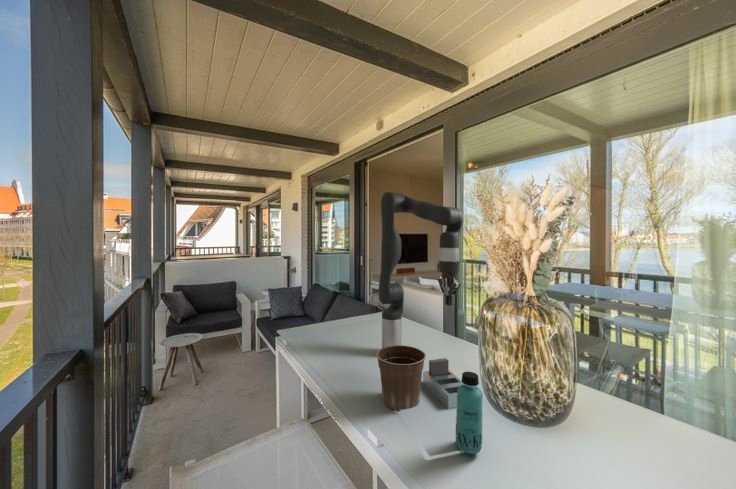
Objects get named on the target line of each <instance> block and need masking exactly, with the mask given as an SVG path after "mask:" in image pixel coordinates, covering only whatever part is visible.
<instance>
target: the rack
mask: <svg viewBox="0 0 736 489" xmlns="http://www.w3.org/2000/svg"><path fill="white" fill-rule="evenodd" d="M422 383H423V384H424V385H425V386H426V388H428V390H429V391H430V392H431V393H432V394H433V395H434V396H435V397H436V398H437V399H438V400H439V401H440V402H441V403H442V404H443V405H444V406H445V407H446V408H447V409H448V410H450V409H457V389H458V387H459V386H461V385H463V384H464V383H462V379H460V378H459V377H458V376H456V375H455V374H454V372H452V371H451V370H450V369H448V375H443V376H436V377H431V375H430V374H429V370H426V371H422Z"/></svg>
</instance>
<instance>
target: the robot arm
mask: <svg viewBox="0 0 736 489" xmlns="http://www.w3.org/2000/svg"><path fill="white" fill-rule="evenodd" d="M380 212H381V213H380V214H381V244H380V245H381V246H380V248H381V252H380V253H381V254H380V257H381V258H380V274H379V282H378V291H377V292H378V294H377V295H378V300H379V302H380V304H382V305H389V306H388V307H387V308H386V309H384V310H383V311H382V312H381V349H382V348H384V347H388V346H395V345H402V339H403V338H402V336H403V335H402V332H403V331H402V327H403V326H402V322H403V321H402V318H403V317H402V315H403V312H404V300H405V299H404V298H405V292H404V287H403V285H402V284H400V283H398V282H393V283H391V278H392V275H393V272H394V270H395V268H396V266H397V265H398V263H399V261H400V259H401V256H402V238H401V236H400V234H399V232H398V230H397V227H396V224H395V214H399V213H407V214H412V215H415V217H418V218H420V219H423V220H427V221H430V222H433V223H434V224H437V225H440V226H444V227H445V226H446V227H445V228H446V229H445V231H444V232H442V233H440V236H439V250H438V272H439V273H441V275H440V276H441V277H440V278H437V282H438V284H439V285H438V286H439V288H440V290H441V293H443V294H444V305H446V306H452V305H453V296H455V295H457V293H458V291H459V289H460V287H461V286H462V285H461V282H459V281H458V276H457V274H458V273H459V272H460V249H459V248H460V245H459V244H460V238H459V237H460V235H461V234H460V233H461V230H462V226H463V223H464V216H463V212H462V210H461V209H459V207H458V208H457V207H451V206H444V205H439V204H437V203H434V202H428V201H423V200H417V199H414V198H411V197H409V196H407V195H405V194H403V193H400V192H393V191H386V192H384V193H383V194H382V196H381V200H380Z"/></svg>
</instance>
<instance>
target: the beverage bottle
mask: <svg viewBox="0 0 736 489" xmlns="http://www.w3.org/2000/svg"><path fill="white" fill-rule="evenodd" d="M479 380H480V379H479V375H478V374H477V373H476V372H473V371H464V372H462V374H461V381H462V383H464V384H463V385H461V386H459V387H458V389H457V408H456V411H455V412H456V417H455V444H456V447H457V448H458V449H459V450H460V451H461V452H464V453H466V454H471V455H474V454H478V453H480V451H481V450H482V447H483V429H484V428H483V421H484V420H483V415H484V414H483V397H484V393H483V391H482V390H481V389H480V388H479V387H478V385H479V384H480V381H479Z"/></svg>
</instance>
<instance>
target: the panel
mask: <svg viewBox="0 0 736 489" xmlns="http://www.w3.org/2000/svg"><path fill="white" fill-rule="evenodd" d="M448 370H449V359H447V358H446V357H445V358H437V359H429V360H428V371H429V374H430V375H431V377H436V376H443V375H448Z"/></svg>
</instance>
